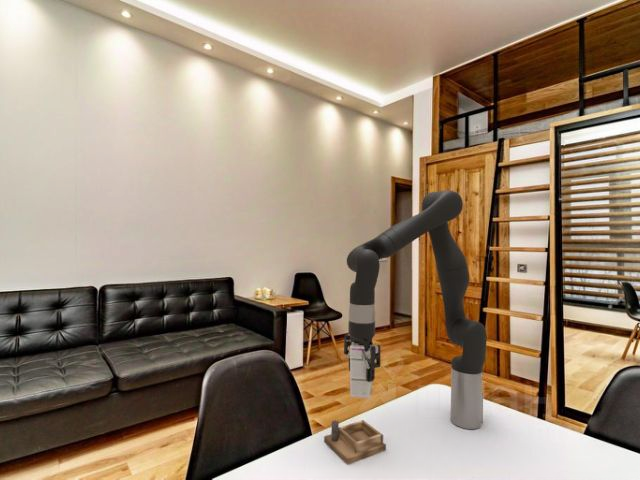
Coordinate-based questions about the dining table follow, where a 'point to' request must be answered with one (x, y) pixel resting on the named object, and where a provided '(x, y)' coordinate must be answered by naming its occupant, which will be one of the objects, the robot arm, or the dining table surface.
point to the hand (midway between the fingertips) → (360, 375)
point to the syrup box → (359, 373)
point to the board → (355, 441)
